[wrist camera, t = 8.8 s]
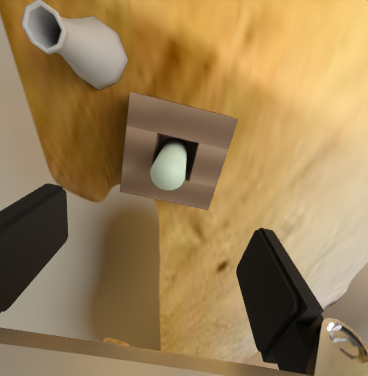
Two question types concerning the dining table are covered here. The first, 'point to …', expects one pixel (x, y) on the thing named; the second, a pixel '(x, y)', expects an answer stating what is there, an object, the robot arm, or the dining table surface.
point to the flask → (77, 43)
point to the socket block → (164, 130)
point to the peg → (170, 165)
